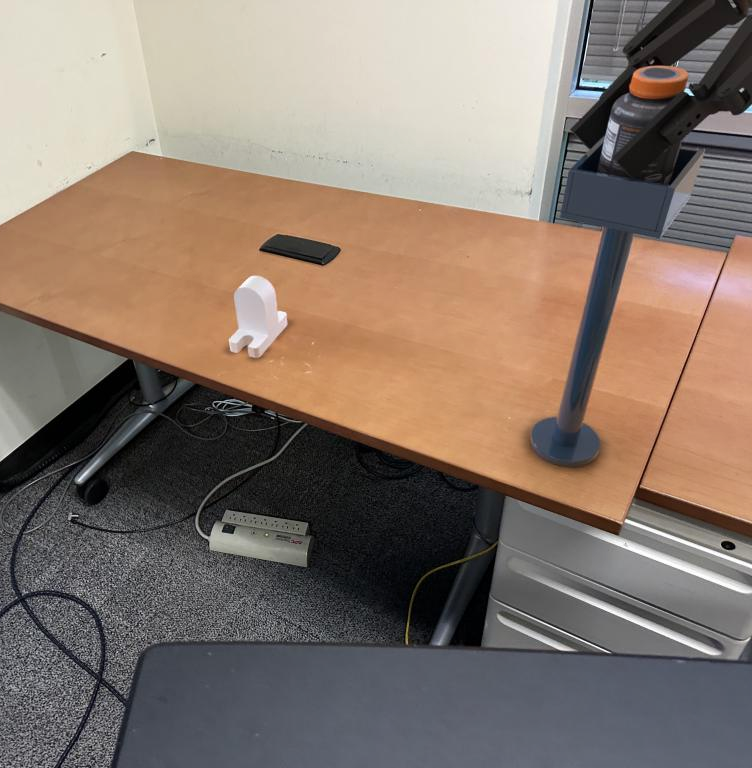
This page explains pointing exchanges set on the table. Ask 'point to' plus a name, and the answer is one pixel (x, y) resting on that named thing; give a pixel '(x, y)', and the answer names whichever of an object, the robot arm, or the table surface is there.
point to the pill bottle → (643, 120)
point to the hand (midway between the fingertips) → (600, 153)
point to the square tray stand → (605, 282)
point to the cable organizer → (256, 317)
